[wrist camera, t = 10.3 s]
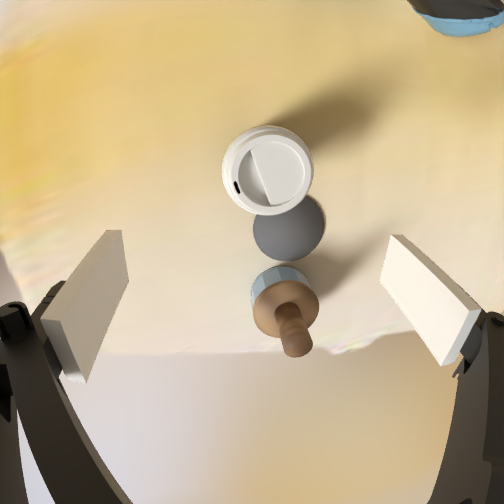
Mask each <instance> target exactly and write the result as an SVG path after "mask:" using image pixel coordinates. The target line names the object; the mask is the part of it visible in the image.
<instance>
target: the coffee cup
mask: <svg viewBox="0 0 504 504" xmlns="http://www.w3.org/2000/svg"><path fill="white" fill-rule="evenodd" d="M313 174H314V167H313V160H312V157H311V154H310V151H309V149H308V147H307V146H306V144H305V143H304V142H303V140H302V139H301V138H300V137H299V136H297V135H296V134H295V133H293V132H292V131H290V130H288V129H285V128H283V127H279V126H273V125H264V126H258V127H254V128H251V129H249V130H247V131H245V132H243V133H242V134H240V135H239V136H238V137H237V138H236V139H235V140H234V141H233V142H232V143H231V144H230V146H229V147H228V149H227V151H226V153H225V156H224V159H223V163H222V179H223V183H224V186H225V189H226V191H227V193H228V194H229V196H230V197H231V199H232V200H233V201H234V202H235V203H236V204H237V205H239V206H240V207H241V208H243V209H245V210H247V211H249V212H251V213H254V214H258V215H277V214H281V213H284V212H286V211H288V210H290V209H292V208H293V207H295V206H296V205H297V204H299V203H300V202H301V201H302V200H303V198H304V197H305V196H306V194H307V193H308V191H309V189H310V186H311V184H312V180H313Z"/></svg>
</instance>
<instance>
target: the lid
mask: <svg viewBox="0 0 504 504" xmlns="http://www.w3.org/2000/svg"><path fill="white" fill-rule="evenodd" d="M318 312H319V302H318V299H317V297H316V295H315V293H314V291H313V290H312V289H311V288H310V287H309V286H308V285H307V284H305V283H303V282H300V281H295V280H285V281H280V282H276V283H274V284H272V285H270V286H268V287H267V288H265V289H264V290H263V291H262V292H261V293H260V294H259V295H258V297H257V298H256V300H255V303H254V306H253V316H254V321H255V323H256V325H257V327H258V328H259V329H260V330H261V331H262V332H263V333H265V334H266V335H269V336H271V337H276V338H281V341H282V345H283V348H284V352H285V354H286V355H288V356H290V357H301V356H304V355H305V354H307V353H308V352H309V351H310V350H311V349H312V346H313V342H312V339H311V337H310V334H309V332H308V328H309V327H310V326H311V325H312V324H313V322H314V321H315V319H316V317H317V315H318Z"/></svg>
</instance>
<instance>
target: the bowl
mask: <svg viewBox="0 0 504 504" xmlns="http://www.w3.org/2000/svg"><path fill="white" fill-rule="evenodd" d="M285 280H295V281H300V282H303V283H305V284H307V285H308V286H309V287H310V288H311V286H310V284H309V282H308V280H307V278H306V276H304V275H303V274H302V273H301V272H300V271H299V270H297V269H295V268H293V267H289V266H277V267H273V268H270V269H268V270H266V271H264V272H263V273H262V274H260V275H259V276H258V277H257V279H256V280H255V282H254V283H253V286H252V290H251V303H252V309H253V306H254V303H255V300H256V298H257V297H258V295H259V294H260V293H261V292H262V291H263V290H264V289H265V288H267V287H268V286H270V285H272V284H274V283H276V282H280V281H285ZM311 289H312V288H311Z"/></svg>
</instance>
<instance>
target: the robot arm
mask: <svg viewBox="0 0 504 504" xmlns="http://www.w3.org/2000/svg"><path fill="white" fill-rule="evenodd" d="M407 1H408V2H409V3H410V4H411V5H412V8H413V9H414V11H415V12H416V13H418V14H419V15H421V16H422V17H423V18H424V19H425V20H426V22H427V23H428V24H429V25H430V26H431V27H432V28H433V29H434V30H435V31H437V32H440V33H441V34H443V35H446V36H451V37H467V36H473V35H478V34H482V33H485V32H488V31H490V28H497V27H498V26H500V25H502V24H503V23H504V0H407ZM128 282H129V279H128V273H127V267H126V260H125V253H124V246H123V238H122V230H106V232H105V233H104V234H103V235H102V236H101V237H100V239H99V240H98V241H97V242H96V244H95V245H94V246H93V247H92V248H91V250H90V251H89V252H88V253H87V255H86V256H85V257H84V259H83V260H82V261H81V262H80V264H79V265H78V266H77V268H76V269H75V270H74V271H73V273H72V274H71V275H70V277H69V278H68V279H67V281H60V282H59V283H57V284H56V285H54V286H53V287H52V288H51V289H50V290H49V292H48V293H47V294H46V297H44V298H43V300H42V301H41V303H40V304H39V305H38V307H37V308H36V309H35V311H34V312H33V314H32V315H31V316H30V314H29V312H28V309H27V307H26V305H25V304H24V303H22V302H10V303H7V304H5V305H3V306H1V307H0V338H1V339H0V504H29V503H28V498H27V493H26V488H25V483H24V477H23V471H22V464H21V456H20V448H19V437H18V422H17V410H18V413H19V416H20V420H21V423H22V426H23V429H24V432H25V435H26V438H27V440H28V443H29V446H30V448H31V451H32V454H33V456H34V459H35V461H36V464H37V466H38V468H39V470H40V473H41V475H42V477H43V479H44V481H45V484H46V486H47V488H48V490H49V492H50V494H51V496H52V498H53V500H54V502H55V504H133V503H132V502H131V500H130V499H129V498H128V497H127V495H126V494H125V493H124V491H123V490H122V489H121V487H120V485H119V484H118V483H117V481H116V480H115V478H114V477H113V475H112V474H111V473H110V471H109V470H108V468H107V466H106V465H105V463H104V462H103V460H102V459H101V457H100V455H99V454H98V452H97V450H96V449H95V447H94V445H93V444H92V442H91V440H90V439H89V437H88V435H87V433H86V431H85V430H84V428H83V426H82V424H81V422H80V420H79V418H78V416H77V414H76V412H75V411H74V409H73V407H72V405H71V403H70V401H69V398H68V396H67V394H66V392H65V390H64V387H63V385H62V383H61V381H60V379H59V375H60V373H61V371H62V369H63V371H64V374H65V375H66V377H67V379H68V380H70V381H76V382H82V383H87V380H88V377H89V375H90V372H91V369H92V367H93V364H94V361H95V359H96V356H97V354H98V351H99V349H100V346H101V344H102V341H103V339H104V336H105V334H106V332H107V329H108V327H109V325H110V322H111V320H112V318H113V315H114V313H115V311H116V308H117V306H118V304H119V302H120V299H121V297H122V295H123V293H124V291H125V289H126V286H127V284H128ZM379 282H380V283H381V284H382V285H383V287H384V288H385V289H386V291H387V292H388V293H389V295H390V296H391V297H392V298H393V300H394V301H395V302H396V304H397V305H398V306H399V308H400V309H401V310H402V312H403V313H404V315H405V316H406V317H407V319H408V320H409V321H410V323H411V324H412V326H413V327H414V328H415V330H416V331H417V333H418V334H419V335H420V337H421V338H422V340H423V341H424V342H425V344H426V345H427V347H428V348H429V350H430V351H431V353H432V354H433V356H434V357H435V359H436V360H437V361H438V363H439V364H440V366H443V365H447V364H451V363H454V361H455V359H456V357H457V356H458V354H459V352H461V353H462V355H463V356H464V357H463V359H462V361H461V362H460V364H459V366H458V367H457V369H456V370H455V372H454V374H453V376H452V377H453V378H454V377H455V376H456V374H458V373H459V376H458V386H457V392H456V399H455V405H454V411H453V416H452V422H451V427H450V431H449V436H448V440H447V444H446V448H445V453H444V457H443V460H442V464H441V467H440V471H439V474H438V477H437V480H436V484H435V487H434V490H433V493H432V496H431V498H430V500H429V501H428V503H427V504H504V316H503V315H501V314H499V313H497V312H488V313H486V312H485V311H484V310H483V309H482V308H481V307H480V306H479V305H478V304H477V303H476V302H475V301H474V300H473V299H472V298H471V297H470V296H469V295H468V294H467V293H466V292H465V291H464V290H463V289H462V288H461V287H460V286H459V285H458V284H457V283H456V282H454V281H453V280H452V279H451V278H450V277H449V276H448V275H447V274H446V273H445V272H444V271H443V270H442V269H441V268H440V267H439V266H437V265H436V264H435V263H434V262H433V261H432V260H431V259H430V258H429V257H428V256H426V255H425V254H424V253H423V252H422V251H421V250H420V249H419V248H417V247H416V246H415V245H414V244H413V243H412V242H410V241H409V240H408V239H407V238H406V237H405V236H403V235H391V237H390V241H389V245H388V249H387V253H386V257H385V261H384V265H383V268H382V272H381V276H380V279H379Z"/></svg>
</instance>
